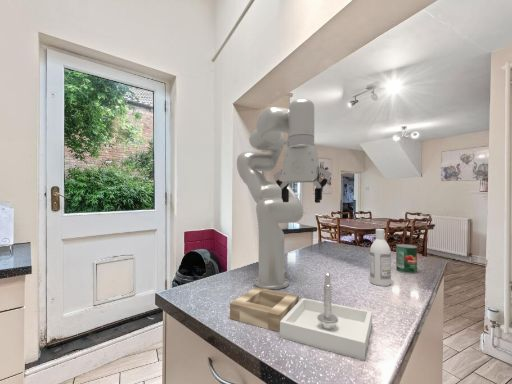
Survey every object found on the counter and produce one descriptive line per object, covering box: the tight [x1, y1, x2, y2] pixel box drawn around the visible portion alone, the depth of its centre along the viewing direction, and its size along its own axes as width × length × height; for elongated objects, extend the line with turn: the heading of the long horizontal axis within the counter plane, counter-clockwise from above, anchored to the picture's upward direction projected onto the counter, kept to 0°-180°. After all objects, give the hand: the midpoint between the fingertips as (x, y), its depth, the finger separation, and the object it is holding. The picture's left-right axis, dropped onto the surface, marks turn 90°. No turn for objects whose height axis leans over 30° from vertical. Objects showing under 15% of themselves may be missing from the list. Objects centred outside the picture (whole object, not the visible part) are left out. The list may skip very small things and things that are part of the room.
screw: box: [317, 272, 338, 330], centre depth 63 cm, size 13×5×5 cm
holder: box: [229, 286, 300, 333], centre depth 71 cm, size 14×14×4 cm
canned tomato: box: [395, 243, 418, 275], centre depth 113 cm, size 8×8×11 cm
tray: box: [279, 297, 373, 362], centre depth 62 cm, size 16×18×4 cm
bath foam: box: [369, 228, 392, 287], centre depth 97 cm, size 7×7×20 cm
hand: (301, 202), depth 76 cm, fingers open, 9 cm apart
